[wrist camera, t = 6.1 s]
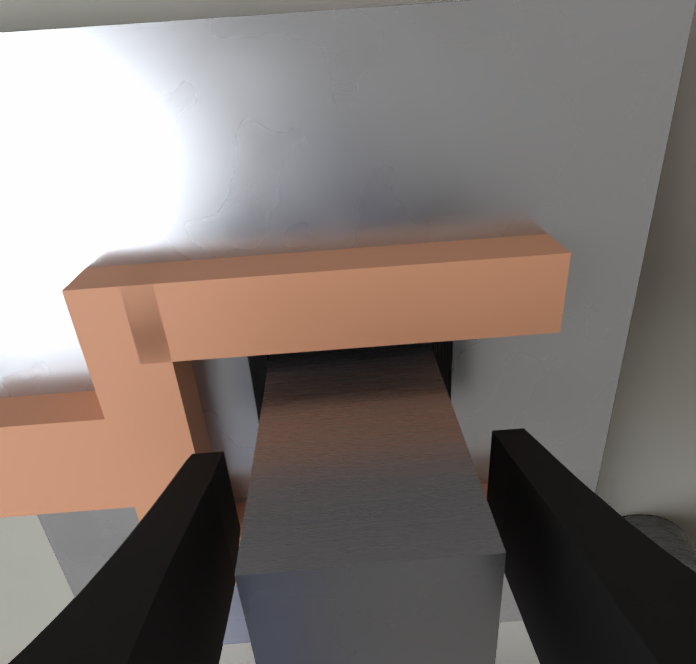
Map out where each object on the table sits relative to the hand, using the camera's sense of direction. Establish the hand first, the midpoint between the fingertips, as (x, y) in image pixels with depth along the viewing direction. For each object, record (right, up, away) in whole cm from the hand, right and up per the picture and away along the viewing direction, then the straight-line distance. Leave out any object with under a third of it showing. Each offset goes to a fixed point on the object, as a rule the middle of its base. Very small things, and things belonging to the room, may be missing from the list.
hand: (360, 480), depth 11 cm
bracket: (-2, +1, +2) cm, 3 cm away
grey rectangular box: (0, +2, +4) cm, 5 cm away
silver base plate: (-1, +2, +4) cm, 5 cm away
